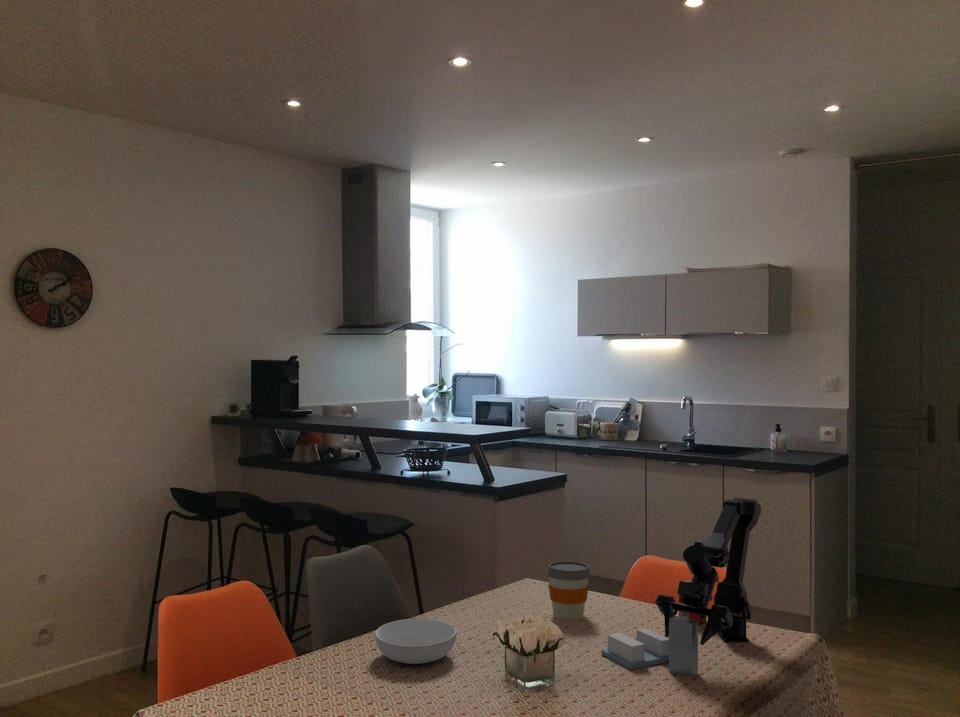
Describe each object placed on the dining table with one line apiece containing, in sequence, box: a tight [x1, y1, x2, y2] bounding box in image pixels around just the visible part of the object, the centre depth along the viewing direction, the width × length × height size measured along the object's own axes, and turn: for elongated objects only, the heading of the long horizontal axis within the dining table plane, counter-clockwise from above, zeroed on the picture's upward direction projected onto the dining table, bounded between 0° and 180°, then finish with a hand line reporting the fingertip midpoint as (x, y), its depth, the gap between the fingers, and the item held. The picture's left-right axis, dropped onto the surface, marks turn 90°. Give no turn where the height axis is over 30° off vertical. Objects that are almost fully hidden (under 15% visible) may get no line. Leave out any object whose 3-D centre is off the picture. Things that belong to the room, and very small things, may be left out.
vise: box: [601, 628, 669, 670], centre depth 214 cm, size 20×12×5 cm, turn 118°
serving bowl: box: [374, 618, 457, 665], centre depth 212 cm, size 21×21×7 cm
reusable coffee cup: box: [547, 560, 591, 621], centre depth 248 cm, size 13×13×15 cm
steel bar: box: [668, 615, 699, 678], centre depth 203 cm, size 4×6×13 cm, turn 52°
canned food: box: [678, 580, 708, 625], centre depth 244 cm, size 8×8×11 cm
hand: (683, 640), depth 203 cm, fingers open, 9 cm apart
